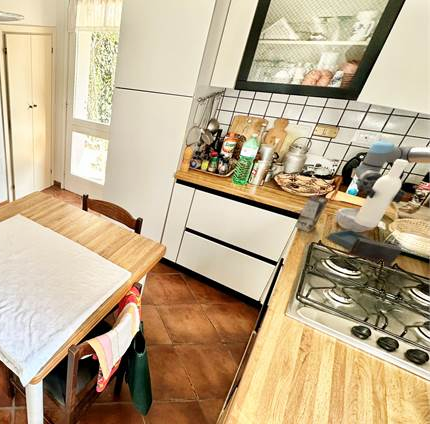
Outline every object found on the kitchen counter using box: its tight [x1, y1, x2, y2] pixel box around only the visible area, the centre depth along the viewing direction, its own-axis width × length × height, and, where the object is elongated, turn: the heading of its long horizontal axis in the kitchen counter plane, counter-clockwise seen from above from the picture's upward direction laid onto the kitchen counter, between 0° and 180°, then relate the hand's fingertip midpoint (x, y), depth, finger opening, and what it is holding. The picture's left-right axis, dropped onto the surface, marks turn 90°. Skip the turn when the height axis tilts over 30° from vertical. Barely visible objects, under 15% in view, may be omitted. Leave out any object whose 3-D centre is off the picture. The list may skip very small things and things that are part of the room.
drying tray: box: [327, 229, 375, 251], centre depth 144 cm, size 14×14×3 cm
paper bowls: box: [334, 207, 375, 233], centre depth 156 cm, size 15×15×8 cm
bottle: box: [354, 159, 409, 228], centre depth 132 cm, size 8×8×30 cm
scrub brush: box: [347, 237, 402, 268], centre depth 132 cm, size 14×3×9 cm, turn 58°
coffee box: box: [294, 195, 329, 233], centre depth 154 cm, size 9×6×16 cm
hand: (385, 197), depth 128 cm, fingers closed on bottle, 8 cm apart
